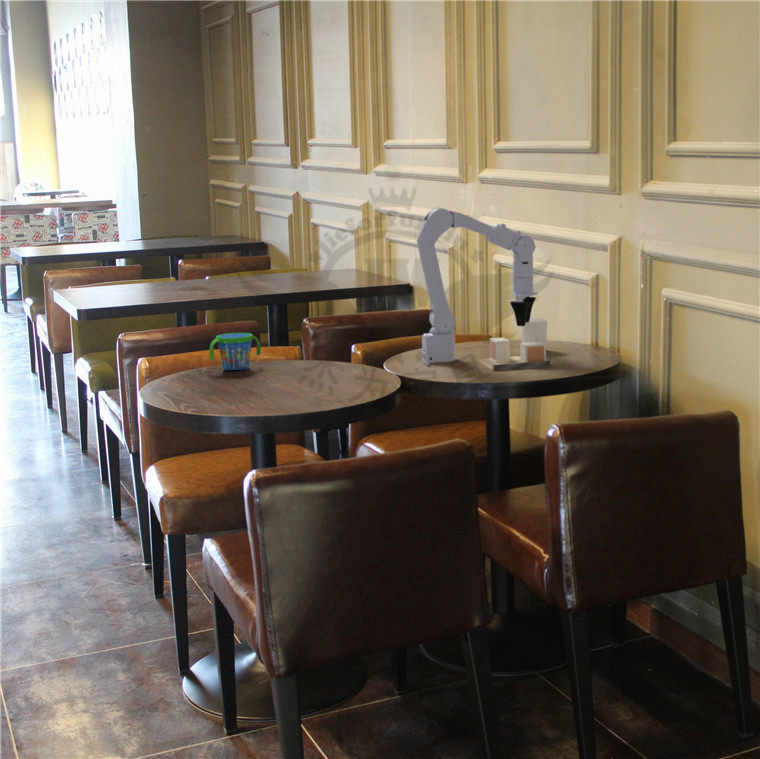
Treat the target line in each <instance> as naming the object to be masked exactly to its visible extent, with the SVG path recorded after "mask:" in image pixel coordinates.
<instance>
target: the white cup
mask: <svg viewBox="0 0 760 759" xmlns="http://www.w3.org/2000/svg"><path fill="white" fill-rule="evenodd" d="M520 333H521V334H520V335H521V343H527V342H543V343H546V344H547V337H548V319H546V318H542V317H541V318H540V317H535V318H534V317H530V320H529V322H526V323H525V326H520Z"/></svg>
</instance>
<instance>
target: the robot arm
mask: <svg viewBox="0 0 760 759" xmlns="http://www.w3.org/2000/svg"><path fill="white" fill-rule="evenodd" d="M506 226H507V224H505V223H502V222H501V223H500V224H499V223H495V224H493V225H489V224H486V222H482V221H480V220H479V219H475V218H473V217H471V216H468V215H467V214H465V213H462V212H458V211H452V210H448V209H446V208H440V207H434V208H432V209H431V210H429V211H428V213H427V214H426V215H425V216H424V217H423V220H422V224H421V226H420V229H419V232H418V234H417V237H416V245H417V249H418V254H419V258H420V262H421V268H422V272H423V277H424V281H425V285H426V290H427V296H428V299H429V308H430V311H429V315H428V316H429V317H428V320H429V324H430V325H431V328H430V329H429V332H428V333H423V334H422V337H421V356H422V359H421V361H422V362H423V364H426V365H427V366H432V363H433V364H434V363H448V362H449V363H450V362H454V361H456V358H457V357H456V332H455V331H456V330H455V329H454V327H455V325H456V318H455V315H453V313H452V312H451V310H450V306H449V303H448V301H447V297H446V292H445V287H444V284H443V283H444V282H443V278H442V274H441V269H440V265H439V260H438V255H437V250H436V246H435V244H436V243H437V241H438V240H439V239H440V237H441V236H442V235H443V234H444V233H445V232H447V231H448V230H449V229H451V228H453V229H456V228H464V229H467V230H470V231H473V232H475V233H478V234H481V235H484V236H486V238H487V240H488V243H490V244H493V245H495V246H497V247H500V248H502V249H505V250H507V251H512V252H513V254H512V256H513V258H512V260H513V261H512V296H513V297H515V300H511V301H510V302H509V304H510V306H511V308H512V310H513V313H514V318H515V321H516V326H517V327H521V326H525V323H526V322H529V320H530V318H531V314H532V308H533V305H534V303H535V301H536V297H535V296H537V295H538V292H537V291H534V257H533V256H534V252H535V250H536V247H537V246H536V244H535V241H534V239H533V238H532V237H531V236H530V235H525V234H524V233H522V231H521V230H518V229H517V230H513V229H512V228H509V227H506Z"/></svg>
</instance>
